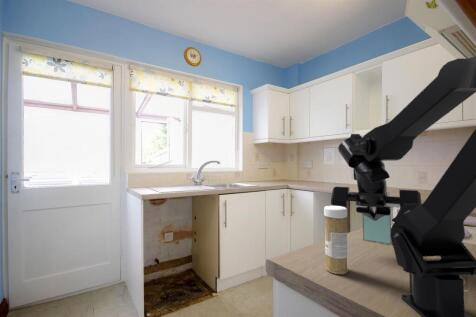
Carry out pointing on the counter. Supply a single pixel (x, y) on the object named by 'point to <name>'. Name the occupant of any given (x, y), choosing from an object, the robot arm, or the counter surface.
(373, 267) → the counter surface
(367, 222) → the tile
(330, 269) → the sprinkles bottle
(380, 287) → the counter surface
